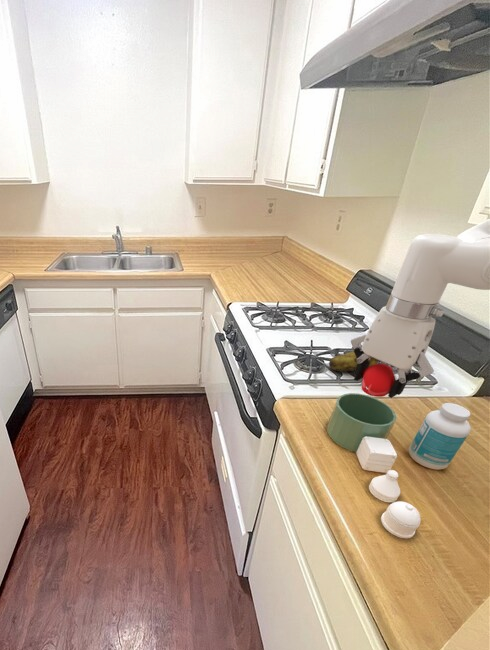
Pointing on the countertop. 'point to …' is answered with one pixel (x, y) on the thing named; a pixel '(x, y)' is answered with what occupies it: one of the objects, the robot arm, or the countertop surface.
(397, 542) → the countertop surface
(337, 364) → the potato
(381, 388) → the cap
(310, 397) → the countertop surface
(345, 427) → the cup
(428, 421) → the pill bottle
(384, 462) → the container set
